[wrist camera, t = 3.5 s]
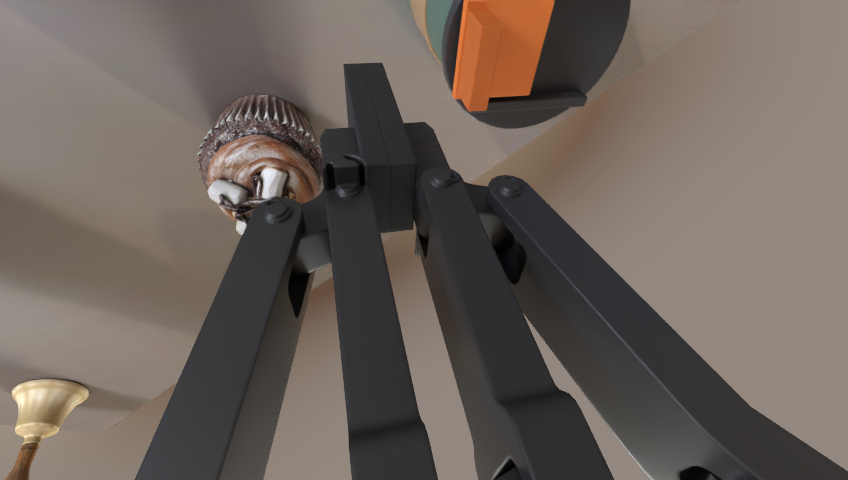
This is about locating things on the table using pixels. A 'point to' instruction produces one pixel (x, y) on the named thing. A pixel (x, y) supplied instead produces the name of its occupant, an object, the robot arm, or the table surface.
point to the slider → (499, 49)
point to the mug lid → (551, 60)
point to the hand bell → (41, 415)
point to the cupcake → (259, 156)
